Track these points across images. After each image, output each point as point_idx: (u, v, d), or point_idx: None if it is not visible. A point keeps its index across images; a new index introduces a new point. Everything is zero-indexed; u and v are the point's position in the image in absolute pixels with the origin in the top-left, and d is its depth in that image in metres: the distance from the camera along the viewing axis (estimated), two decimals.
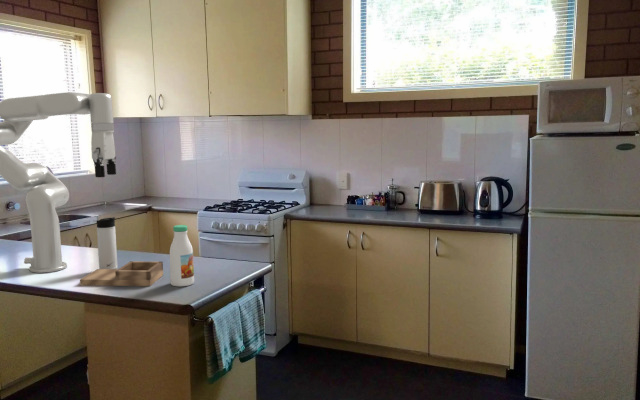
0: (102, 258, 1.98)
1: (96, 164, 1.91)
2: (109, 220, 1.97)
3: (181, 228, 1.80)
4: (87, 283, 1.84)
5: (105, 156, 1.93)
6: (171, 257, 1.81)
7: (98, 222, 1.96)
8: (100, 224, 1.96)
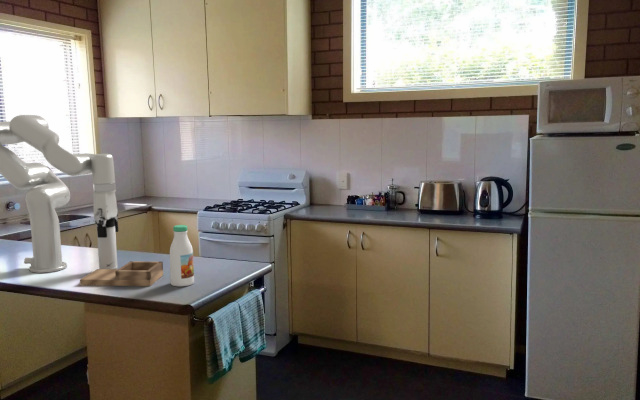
0: (102, 258, 1.98)
1: (98, 225, 1.92)
2: (109, 220, 1.97)
3: (181, 228, 1.80)
4: (87, 283, 1.84)
5: (107, 216, 1.94)
6: (171, 257, 1.81)
7: None
8: None
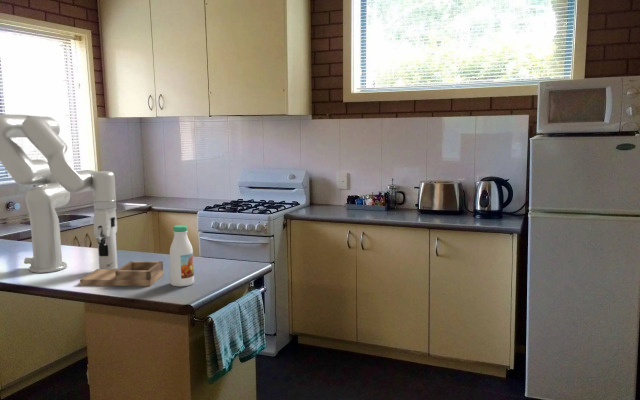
0: (102, 258, 1.98)
1: (100, 244, 1.95)
2: None
3: (181, 228, 1.80)
4: (87, 283, 1.84)
5: (107, 234, 1.95)
6: (171, 257, 1.81)
7: None
8: None
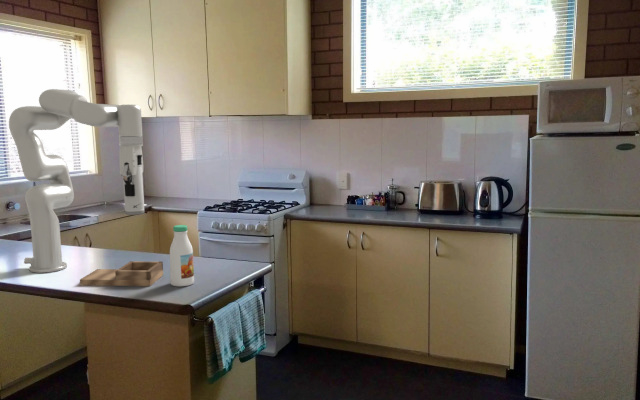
0: (128, 199, 1.83)
1: (126, 183, 1.80)
2: None
3: (181, 228, 1.80)
4: (87, 283, 1.84)
5: (134, 172, 1.81)
6: (171, 257, 1.81)
7: None
8: None
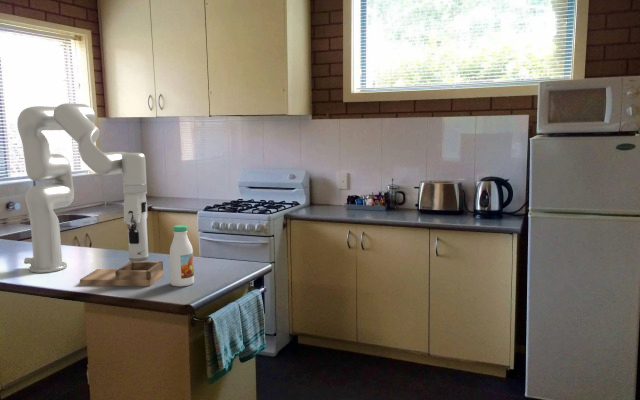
0: (133, 246, 1.85)
1: (130, 230, 1.82)
2: None
3: (181, 228, 1.80)
4: (87, 283, 1.84)
5: (138, 220, 1.82)
6: (171, 257, 1.81)
7: None
8: None
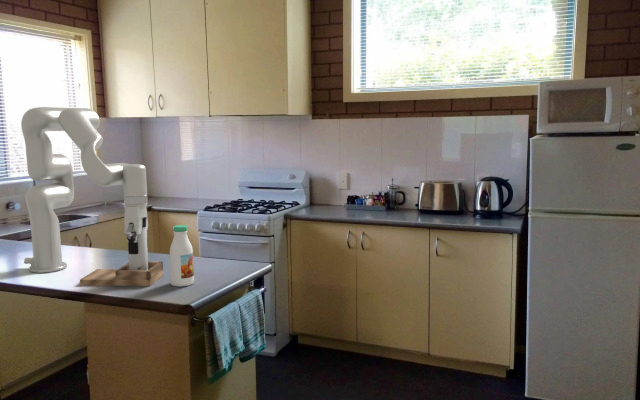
0: (133, 261, 1.85)
1: (130, 241, 1.81)
2: None
3: (181, 228, 1.80)
4: (87, 283, 1.84)
5: (138, 231, 1.83)
6: (171, 257, 1.81)
7: None
8: None
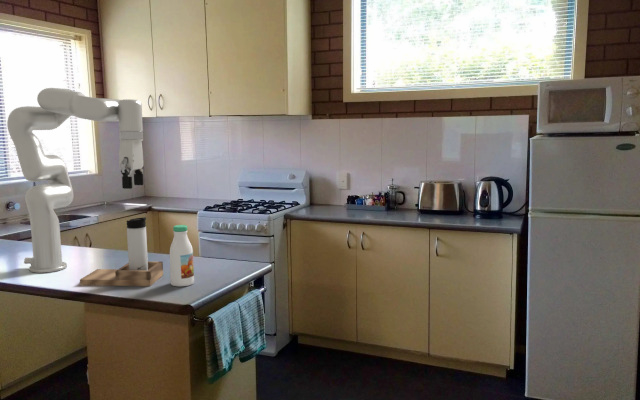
0: (133, 261, 1.85)
1: (124, 175, 1.80)
2: (140, 220, 1.84)
3: (181, 228, 1.80)
4: (87, 283, 1.84)
5: (133, 166, 1.82)
6: (171, 257, 1.81)
7: (128, 222, 1.84)
8: (131, 224, 1.84)
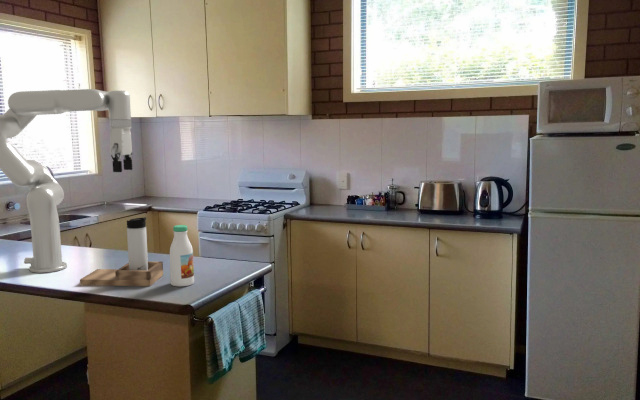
0: (133, 261, 1.85)
1: (114, 159, 1.97)
2: (140, 220, 1.84)
3: (181, 228, 1.80)
4: (87, 283, 1.84)
5: (123, 152, 1.99)
6: (171, 257, 1.81)
7: (128, 222, 1.84)
8: (131, 224, 1.84)
